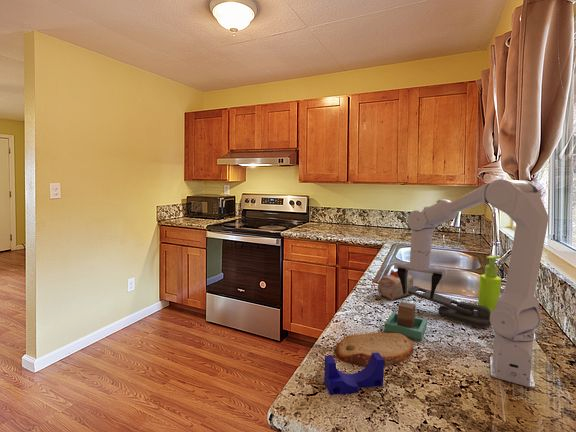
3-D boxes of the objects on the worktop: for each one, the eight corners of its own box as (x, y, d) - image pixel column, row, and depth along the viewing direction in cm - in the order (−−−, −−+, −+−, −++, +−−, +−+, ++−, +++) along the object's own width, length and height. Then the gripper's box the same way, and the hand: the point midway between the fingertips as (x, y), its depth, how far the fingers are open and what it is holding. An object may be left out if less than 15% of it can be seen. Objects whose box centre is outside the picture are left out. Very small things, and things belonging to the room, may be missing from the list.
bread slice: (414, 344, 87) (415, 330, 87) (410, 380, 71) (411, 364, 70) (349, 330, 94) (349, 318, 94) (331, 360, 78) (331, 345, 78)
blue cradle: (329, 395, 64) (330, 367, 64) (324, 382, 69) (324, 355, 68) (386, 391, 66) (387, 363, 66) (377, 378, 71) (378, 352, 70)
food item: (393, 302, 117) (394, 276, 116) (375, 296, 124) (376, 271, 123) (415, 295, 125) (416, 270, 124) (397, 290, 132) (399, 266, 131)
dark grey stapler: (413, 284, 117) (494, 301, 102) (412, 302, 118) (492, 321, 102) (405, 290, 111) (490, 309, 95) (404, 309, 111) (488, 330, 95)
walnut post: (411, 332, 92) (413, 308, 91) (397, 328, 94) (398, 305, 93) (414, 327, 95) (415, 304, 95) (400, 323, 98) (401, 301, 97)
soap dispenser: (504, 317, 105) (509, 257, 103) (489, 320, 103) (494, 258, 101) (487, 310, 111) (492, 253, 109) (473, 313, 108) (477, 254, 106)
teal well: (420, 340, 88) (421, 332, 88) (384, 331, 93) (384, 323, 93) (426, 327, 96) (427, 319, 96) (392, 319, 102) (392, 312, 101)
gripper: (448, 251, 95) (445, 296, 97) (398, 246, 103) (396, 287, 104) (446, 255, 89) (443, 303, 91) (393, 249, 97) (391, 293, 98)
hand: (418, 295), depth 97 cm, fingers open, 7 cm apart
